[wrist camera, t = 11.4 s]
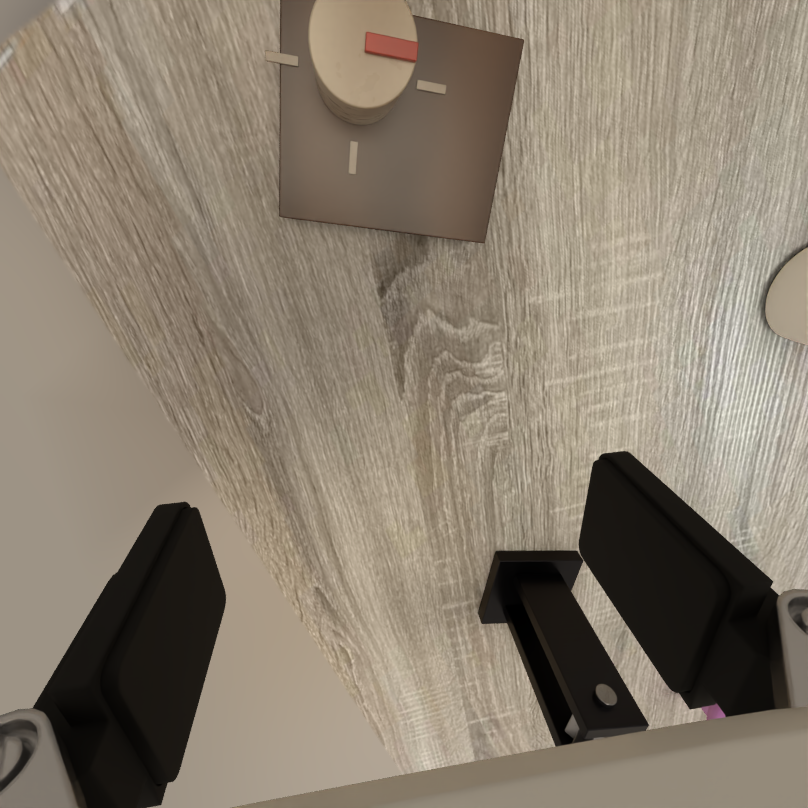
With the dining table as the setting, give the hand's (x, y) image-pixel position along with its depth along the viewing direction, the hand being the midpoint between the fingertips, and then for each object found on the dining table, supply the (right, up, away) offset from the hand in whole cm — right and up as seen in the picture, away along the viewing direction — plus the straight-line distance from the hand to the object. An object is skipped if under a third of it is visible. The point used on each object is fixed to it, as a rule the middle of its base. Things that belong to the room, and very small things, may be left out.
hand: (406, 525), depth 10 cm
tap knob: (-2, +18, +9) cm, 20 cm away
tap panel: (-1, +17, +13) cm, 22 cm away
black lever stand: (+12, -14, +31) cm, 36 cm away
